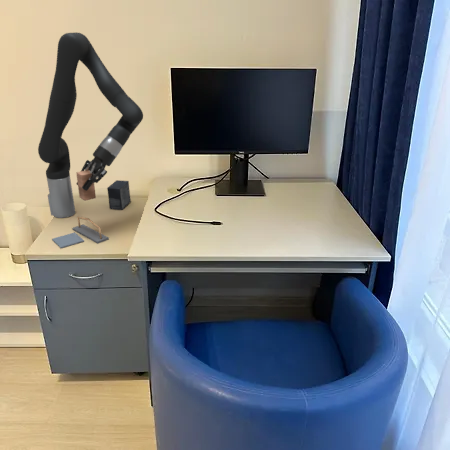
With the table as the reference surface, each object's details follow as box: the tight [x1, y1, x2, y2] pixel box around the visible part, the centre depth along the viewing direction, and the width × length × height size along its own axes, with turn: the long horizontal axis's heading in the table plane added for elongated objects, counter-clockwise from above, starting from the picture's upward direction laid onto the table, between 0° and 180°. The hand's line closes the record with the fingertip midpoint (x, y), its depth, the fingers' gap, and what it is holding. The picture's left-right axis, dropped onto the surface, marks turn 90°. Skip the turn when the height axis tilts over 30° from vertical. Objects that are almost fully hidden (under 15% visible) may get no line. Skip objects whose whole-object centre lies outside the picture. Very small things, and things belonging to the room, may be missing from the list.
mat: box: [51, 231, 85, 249], centre depth 164 cm, size 9×9×1 cm
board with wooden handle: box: [71, 216, 110, 245], centre depth 168 cm, size 5×18×7 cm, turn 48°
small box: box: [106, 180, 132, 211], centre depth 195 cm, size 11×6×10 cm, turn 170°
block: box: [75, 170, 97, 201], centre depth 162 cm, size 4×4×10 cm
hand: (81, 187), depth 161 cm, fingers closed on block, 4 cm apart
